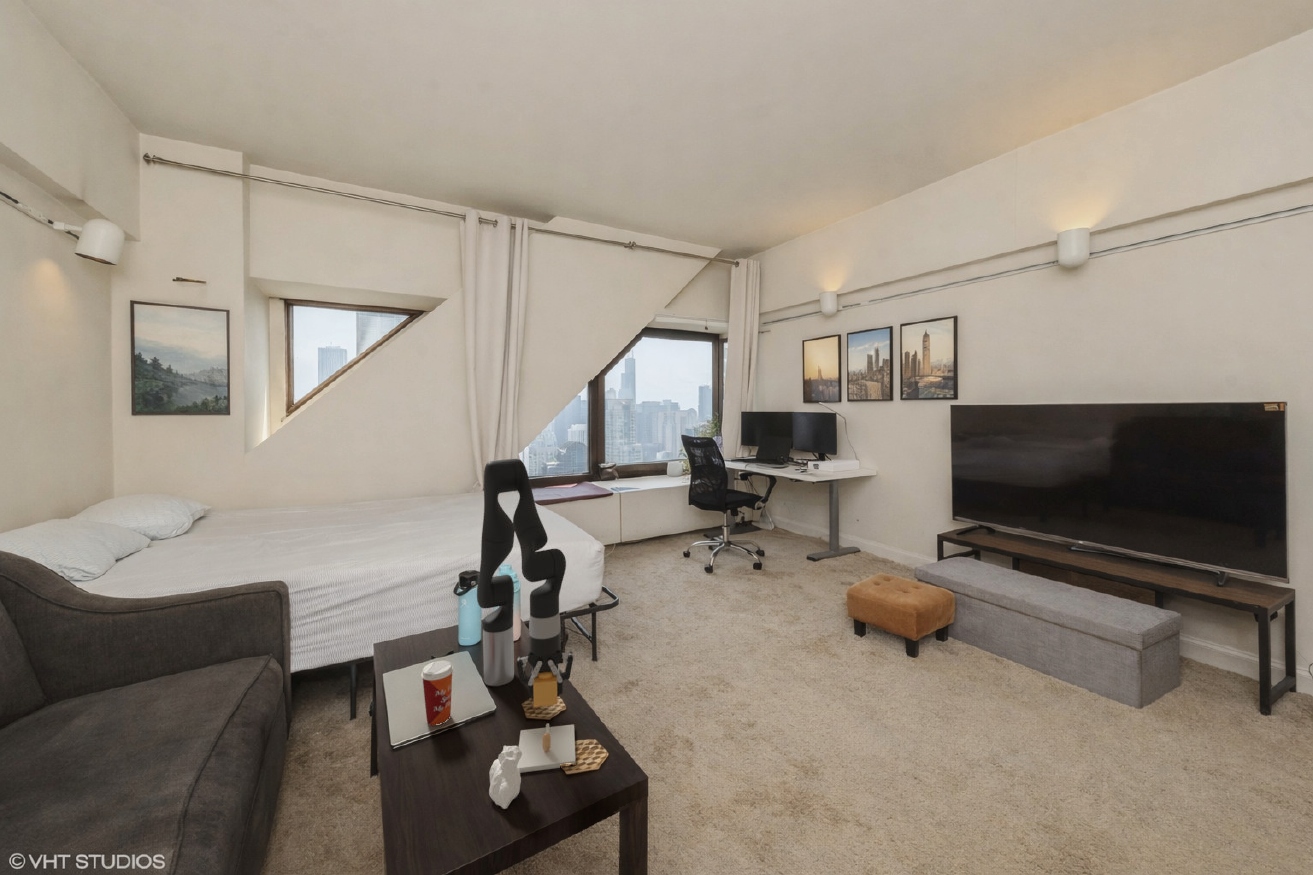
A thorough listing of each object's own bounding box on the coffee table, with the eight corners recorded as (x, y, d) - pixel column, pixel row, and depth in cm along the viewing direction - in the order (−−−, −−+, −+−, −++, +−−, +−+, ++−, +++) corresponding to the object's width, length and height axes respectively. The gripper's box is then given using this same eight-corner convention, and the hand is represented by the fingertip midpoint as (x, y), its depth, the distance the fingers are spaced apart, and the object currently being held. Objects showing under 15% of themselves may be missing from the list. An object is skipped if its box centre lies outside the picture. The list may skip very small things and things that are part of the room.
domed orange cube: (534, 693, 126) (534, 666, 126) (557, 691, 127) (557, 664, 127) (533, 706, 121) (533, 678, 120) (557, 704, 122) (556, 676, 121)
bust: (515, 820, 108) (545, 768, 111) (487, 813, 104) (518, 759, 108) (498, 785, 118) (525, 738, 121) (471, 778, 114) (500, 729, 117)
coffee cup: (442, 730, 134) (441, 676, 133) (415, 726, 136) (414, 673, 135) (461, 711, 142) (459, 660, 141) (435, 707, 144) (433, 657, 143)
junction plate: (521, 733, 133) (520, 712, 133) (574, 726, 136) (573, 707, 135) (516, 773, 119) (515, 750, 118) (575, 765, 121) (575, 743, 121)
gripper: (574, 621, 128) (574, 685, 129) (516, 626, 125) (517, 690, 126) (574, 634, 120) (575, 702, 122) (513, 639, 118) (514, 708, 119)
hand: (545, 695), depth 124 cm, fingers closed on domed orange cube, 5 cm apart
